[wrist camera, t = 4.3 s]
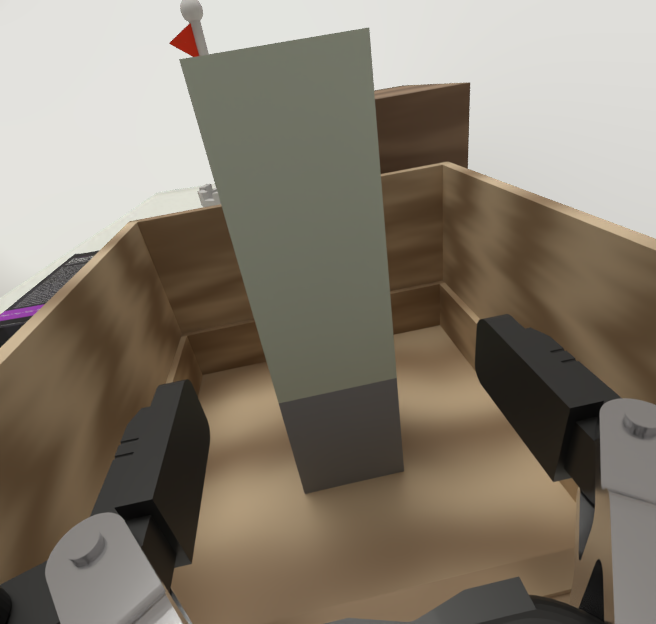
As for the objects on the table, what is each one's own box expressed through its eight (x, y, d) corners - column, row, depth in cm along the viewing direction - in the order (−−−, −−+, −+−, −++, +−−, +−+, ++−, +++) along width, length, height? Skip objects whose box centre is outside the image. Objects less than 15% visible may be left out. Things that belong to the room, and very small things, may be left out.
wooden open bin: (700, 634, 13) (921, 337, 7) (91, 794, 12) (-266, 608, 6) (447, 321, 31) (447, 161, 25) (193, 374, 30) (129, 221, 24)
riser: (463, 298, 33) (470, 82, 25) (302, 331, 33) (255, 120, 25) (410, 243, 45) (402, 85, 37) (291, 267, 45) (257, 111, 37)
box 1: (146, 333, 38) (185, 256, 55) (133, 302, 37) (176, 232, 53) (2, 358, 38) (85, 273, 55) (-19, 328, 36) (73, 249, 53)
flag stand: (245, 201, 76) (196, 9, 61) (296, 203, 69) (255, -14, 54) (191, 223, 68) (118, 7, 52) (244, 229, 60) (177, -21, 45)
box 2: (404, 471, 19) (369, 27, 10) (304, 494, 19) (179, 59, 10) (378, 402, 24) (337, 46, 15) (296, 419, 23) (204, 69, 14)
